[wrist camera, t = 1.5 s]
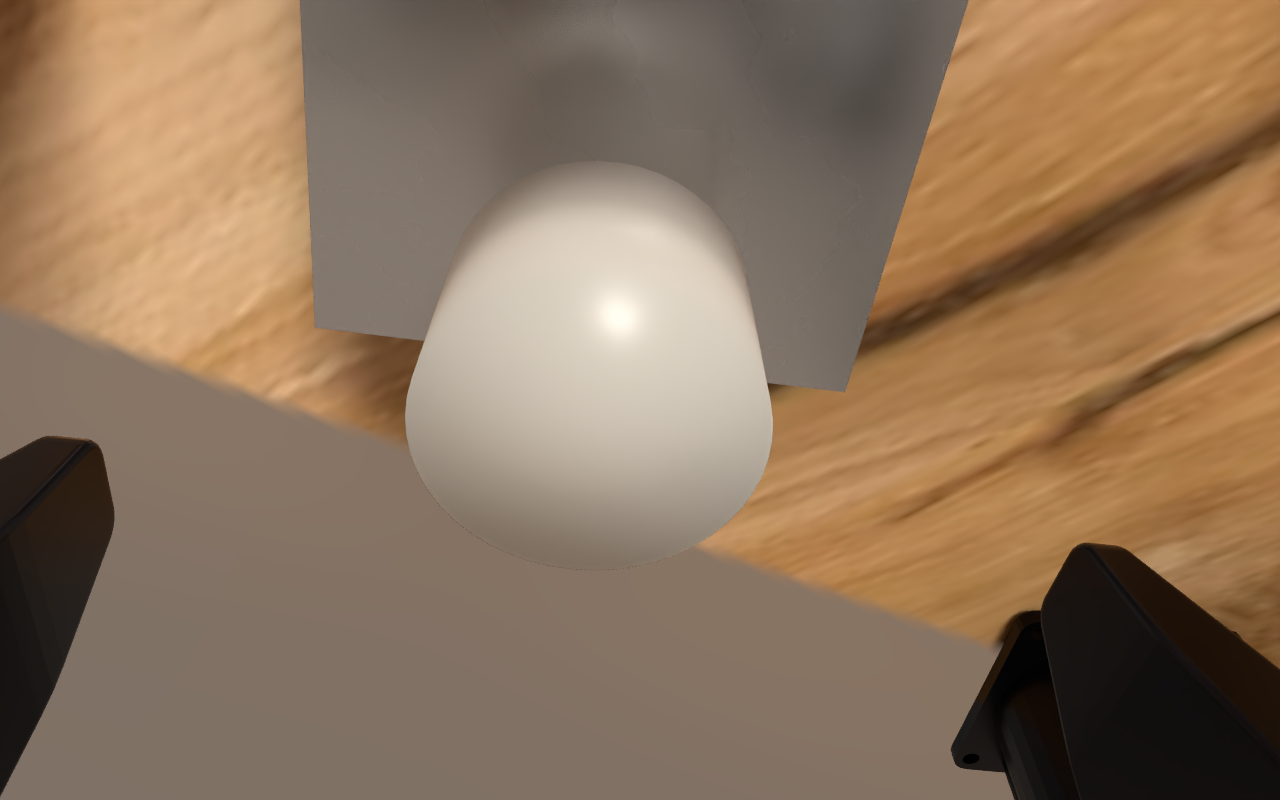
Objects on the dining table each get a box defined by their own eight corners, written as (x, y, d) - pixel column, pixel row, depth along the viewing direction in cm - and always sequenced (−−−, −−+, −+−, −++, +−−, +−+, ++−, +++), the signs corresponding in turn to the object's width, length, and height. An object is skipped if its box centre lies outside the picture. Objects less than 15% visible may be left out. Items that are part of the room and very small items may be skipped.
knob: (717, 439, 15) (733, 585, 12) (443, 407, 14) (403, 552, 12) (777, 184, 12) (811, 300, 10) (455, 139, 12) (407, 249, 10)
